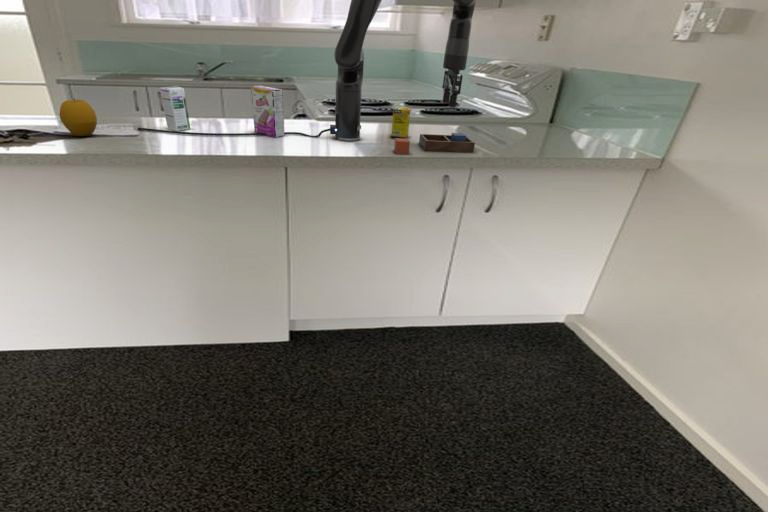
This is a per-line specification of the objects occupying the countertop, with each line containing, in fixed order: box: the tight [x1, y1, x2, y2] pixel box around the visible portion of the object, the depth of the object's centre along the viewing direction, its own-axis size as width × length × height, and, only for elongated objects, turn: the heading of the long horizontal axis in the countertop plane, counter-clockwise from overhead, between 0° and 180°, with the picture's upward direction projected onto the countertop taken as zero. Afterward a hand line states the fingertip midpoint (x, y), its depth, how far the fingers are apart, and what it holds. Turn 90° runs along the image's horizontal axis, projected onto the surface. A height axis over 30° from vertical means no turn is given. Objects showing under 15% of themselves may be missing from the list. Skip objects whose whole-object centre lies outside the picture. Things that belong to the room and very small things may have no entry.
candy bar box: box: [250, 85, 286, 138], centre depth 153 cm, size 11×5×16 cm, turn 58°
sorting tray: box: [418, 133, 476, 154], centre depth 155 cm, size 18×11×4 cm, turn 96°
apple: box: [59, 98, 98, 138], centre depth 135 cm, size 10×10×12 cm
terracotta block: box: [394, 138, 411, 155], centre depth 144 cm, size 4×4×4 cm
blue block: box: [450, 132, 467, 142], centre depth 155 cm, size 4×4×4 cm
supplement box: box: [390, 106, 411, 139], centre depth 164 cm, size 6×6×11 cm
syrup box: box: [159, 85, 191, 132], centre depth 151 cm, size 6×6×14 cm
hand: (448, 104), depth 146 cm, fingers open, 8 cm apart
